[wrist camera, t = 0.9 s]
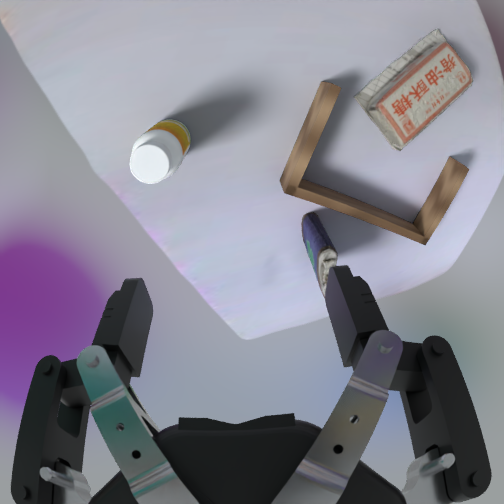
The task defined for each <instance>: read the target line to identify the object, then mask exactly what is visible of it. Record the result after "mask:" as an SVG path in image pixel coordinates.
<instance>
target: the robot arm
mask: <svg viewBox="0 0 504 504" xmlns="http://www.w3.org/2000/svg"><path fill="white" fill-rule="evenodd" d="M375 301H376V300H375V298H374V296H373V295H372V292H371V290H370V287H369V285H368V284H367V283H366V282H365V281H364V280H363V279H362V278H361V277H360V276H356V277H353V275H352V273H351V271H350V268H349V267H348V266H347V265H344V266H332V267H330V268H329V273H328V280H327V285H326V291H325V302H326V307H327V310H328V313H329V317H330V320H331V323H332V327H333V330H334V333H335V337H336V340H337V344H338V347H339V351H340V354H341V358H342V362H343V365H344V367H350V366H352V367H353V371H354V372H353V374H352V376H351V378H350V380H349V382H348V384H347V386H346V388H345V390H344V391H343V394H342V395H341V397H340V399H339V401H338V403H337V404H336V406H335V408H334V410H333V412H332V413H331V415H330V417H329V419H328V421H327V422H326V424H325V425H324V427H323V429H321V428H320V427H318V426H316V425H314V424H311V423H309V422H305V421H301V420H295V416H294V413H291V414H282V415H271V416H264V417H260V418H257V419H254V420H250V421H247V422H243V423H240V424H230V423H226V422H221V421H217V420H212V419H208V418H181V417H180V418H179V424H176V425H173V426H170V427H167V428H165V429H163V430H162V431H160V430H159V428H158V427H157V426H156V424H155V423H154V422H153V420H152V419H151V418H150V416H149V415H148V413H147V412H146V410H145V409H144V407H143V405H142V404H141V402H140V400H139V398H138V397H137V395H136V393H135V392H134V390H133V388H132V386H131V385H130V379H131V377H140V373H141V368H142V363H143V358H144V353H145V348H146V343H147V338H148V334H149V330H150V325H151V321H152V317H153V305H152V301H151V299H150V296H149V294H148V291H147V288H146V286H145V283H144V281H143V279H142V278H131V279H125V280H124V282H123V285H122V287H121V290H120V291H115V292H114V293H113V295H112V296H111V297H110V298H109V299H108V302H107V304H106V307H105V310H104V312H103V315H102V318H101V320H100V324H99V326H98V329H97V331H96V334H95V338H94V340H93V343H92V345H91V346H89V347H87V348H85V349H84V350H83V351H82V352H81V353H80V354H79V356H78V358H77V359H73V360H69V361H65V362H61V361H60V360H59V359H58V358H57V357H55V356H52V355H49V356H46V357H44V358H42V359H41V360H40V361H39V362H38V364H37V366H36V368H35V372H34V375H33V378H32V381H31V385H30V388H29V392H28V396H27V399H26V403H25V407H24V411H23V415H22V420H21V424H20V429H19V434H18V439H17V444H16V451H15V456H14V464H13V471H12V481H11V494H12V497H13V499H14V501H15V502H16V504H455V503H459V502H463V501H466V500H469V499H472V498H476V497H478V496H480V495H481V494H483V493H484V492H485V491H486V490H487V488H488V486H489V484H490V481H491V468H490V463H489V459H488V455H487V450H486V447H485V443H484V439H483V435H482V432H481V428H480V425H479V422H478V418H477V415H476V412H475V409H474V406H473V403H472V400H471V397H470V394H469V391H468V389H467V386H466V383H465V380H464V378H463V375H462V372H461V370H460V368H459V365H458V363H457V360H456V358H455V355H454V353H453V351H452V348H451V346H450V344H449V343H448V342H447V341H446V340H445V339H444V338H442V337H440V336H430V337H427V338H426V339H425V340H424V341H423V343H412V342H405V341H401V339H400V337H399V336H398V335H397V334H395V333H393V332H391V331H389V329H388V327H387V325H386V323H385V320H384V318H383V316H382V314H381V312H380V309H379V307H378V305H377V302H375ZM388 390H394V391H400V395H401V398H402V402H403V406H404V410H405V414H406V418H407V423H408V427H409V431H410V436H411V440H412V445H413V450H414V454H415V460H414V461H413V462H412V463H411V464H410V465H409V467H408V470H407V480H406V485H405V487H404V488H403V490H402V491H400V490H399V489H398V488H396V487H395V486H394V485H392V484H391V483H389V482H388V481H387V480H386V479H384V478H383V477H382V476H380V475H379V474H378V473H376V472H375V471H374V470H372V469H371V468H370V467H368V466H367V465H366V464H365V463H363V462H362V461H361V460H360V458H361V456H362V454H363V452H364V450H365V448H366V446H367V444H368V442H369V440H370V438H371V436H372V434H373V432H374V430H375V427H376V425H377V423H378V421H379V418H380V416H381V414H382V411H383V409H384V407H385V404H386V402H387V399H388V395H389V394H388ZM60 401H61V402H60ZM59 405H60V406H59ZM90 405H92V406H90ZM58 410H59V411H58ZM89 410H91V413H92V416H93V417H94V420H95V422H96V424H97V426H98V428H99V430H100V432H101V434H102V437H103V439H104V440H105V442H106V444H107V446H108V448H109V450H110V452H111V454H112V456H113V457H114V459H115V461H116V463H117V465H118V466H119V468H120V471H119V472H118V473H117V474H116V475H115V476H114V477H113V478H112V479H111V480H110V481H109V482H108V483H107V484H106V485H105V486H104V487H103V488H102V489H101V490H100V491H99V492H97V493H96V494H95V495H94V496H93V497H91V495H90V486H89V485H88V482H87V479H86V478H85V476H84V475H83V474H82V464H83V454H84V445H85V437H86V429H87V423H88V416H89ZM57 415H58V416H57Z"/></svg>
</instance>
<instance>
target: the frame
mask: <svg viewBox="0 0 504 504" xmlns="http://www.w3.org/2000/svg"><path fill="white" fill-rule="evenodd" d="M340 90H341V87H339V86H336V85H334V84H332V83H327V82H321V84H320V86H319V88H318V91H317V93H316V95H315V98H314V100H313V102H312V105H311V107H310V110H309V112H308V114H307V117H306V119H305V121H304V124H303V126H302V129H301V131H300V133H299V136H298V138H297V140H296V143H295V145H294V147H293V150H292V152H291V155H290V157H289V159H288V162H287V164H286V166H285V169H284V171H283V174H282V176H281V178H280V183H281V185H282V188H283V191H284V193H286V194H289V195H292V196H295V197H298V198H301V199H304V200H307V201H310V202H313V203H316V204H319V205H322V206H325V207H327V208H330V209H333V210H336V211H339V212H341V213H344V214H347V215H350V216H352V217H355V218H358V219H361V220H363V221H366V222H369V223H371V224H374V225H376V226H379V227H382V228H384V229H387V230H389V231H392V232H394V233H397V234H399V235H402V236H404V237H407V238H409V239H411V240H414V241H416V242H419V243H421V244H423V245H426V243H427V242H428V240H429V239H430V237H431V236H432V234H433V232H434V231H435V229H436V228H437V226H438V224H439V223H440V221H441V219H442V218H443V216H444V214H445V213H446V211H447V209H448V208H449V206H450V204H451V202H452V201H453V199H454V197H455V195H456V193H457V192H458V190H459V188H460V186H461V184H462V182H463V180H464V179H465V177H466V175H467V173H468V171H469V169H468V168H467V167H466V166H464V165H463V164H461V163H460V162H458V161H456V160H455V159H453V158H451V157H450V156H449V158H448V160H447V162H446V164H445V166H444V168H443V170H442V172H441V174H440V176H439V178H438V180H437V182H436V183H435V185H434V187H433V189H432V191H431V193H430V194H429V196H428V198H427V200H426V202H425V203H424V205H423V207H422V208H421V210H420V212H419V214H418V215H417V217H416V219H415V220H414V222H413V223H410V222H408V221H406V220H404V219H402V218H399V217H397V216H395V215H393V214H390V213H388V212H386V211H383V210H381V209H379V208H376V207H374V206H371V205H369V204H367V203H364V202H362V201H359V200H357V199H354V198H352V197H349V196H347V195H344V194H342V193H339V192H336V191H334V190H331V189H328V188H326V187H323V186H320V185H318V184H315V183H312V182H309V181H307V180H304V179H302V176H303V174H304V172H305V170H306V168H307V165H308V163H309V161H310V159H311V156H312V154H313V152H314V150H315V147H316V145H317V143H318V140H319V138H320V136H321V134H322V131H323V129H324V127H325V125H326V122H327V120H328V118H329V115H330V113H331V111H332V109H333V106H334V104H335V102H336V99H337V97H338V95H339V92H340Z"/></svg>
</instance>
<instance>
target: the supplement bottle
mask: <svg viewBox="0 0 504 504" xmlns="http://www.w3.org/2000/svg"><path fill="white" fill-rule="evenodd" d="M190 143H191V137H190V133H189V131H188V129H187V128H186V126H185V125H184V124H182V123H181V122H179V121H176V120H171V119H169V120H163V121H160V122H158V123H157V124H155V125H154V126H153V127H152V128H150V129H149V130H148V131H146V132H145V133H144V134H143V135H141V136H140V137H139V138H138V139H137V141H136V142H135V144H134V146H133V149H132V155H131V158H130V169H131V172H132V174H133V175H134V176H135V177H136V178H137V179H138V180H139V181H141V182H143V183H148V184H153V183H157V182H159V181H161V180H163V179H165V178H168V177H170V176H171V175H173V174H174V173H175V172H176V171H177V169H178V168H179V166H180V165H181V163H182V161H183V159H184V157H185V155H186V154H187V152H188V149H189V147H190Z"/></svg>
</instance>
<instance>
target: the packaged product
mask: <svg viewBox="0 0 504 504" xmlns="http://www.w3.org/2000/svg"><path fill="white" fill-rule="evenodd" d="M471 82H473V79H472V76H471V72H470V70H469V68H468V67H467V65H466V64H465V63H464V62H463V61H462V59H461V58H460V57H459V56H458V54H457V53H456V51H455V50H454V49H453V48H452V47H451V46H450V45H449V44H448V43H447V41H446V40H445V38H444V37H443V35H441V34H440V32H439V30H438V29H435V30H434V31H432V32H431V33H429V34H428V35H427V36H425V37H424V38H423V39H421V40H420V41H419V42H418V43H417V44H416V45H415V46H414V47H412V48H411V49H410V50H408V51H407V52H406V53H404V54H403V55H402V56H401V57H400V58H398V59H397V60H395V61H394V62H392V63H391V64H390V65H389V66H388V67H386V69H385V70H384V71H383V72H382V73H381V74H380V75H378V76H377V77H376V78H374V79H373V80H372V81H370V82H369V83H368V84H367V85H366V86H365V87H364V88H363V89H362V90H361V91H360V92H359V93H358V94H357V95H355V96H354V98H355V99H356V100H357V102H358V103H359V104H360V105H361V107H362V108H363V109H364V111H365V112H366V113H367V115H368V116H369V117H370V119H371V120H372V121H373V122H374V123H375V124H376V126H377V127H378V128H379V130H380V131H381V132H382V134H383V135H384V137H385V138H386V140H387V141H388V142H389V144H390V145H391V147H392V148H393V149H394V150H398V151H401V150H402V149H403V147H405V146H406V145H407V144H408V143H409V142H410V141H412V140H413V139H414V138H415V137H416V136H417V135H418V134H419V133H420V132H422V131H423V129H425V128H426V127H427V126H428V125H429V124H430V123H431V122H433V121H434V120H435V119H436V118H437V117H438V116H439V115H440V114H441V113H442V112H443V111H445V110H446V109H447V108H448V107H449V106H450V105H451V104H452V103H453V102H454V101H456V100H457V99H458V98H459V97H460V96H461V95H462V94H463V93H464V92H465V91H466V90H467V89H468V88H469V87H471V86H472V84H471Z"/></svg>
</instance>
